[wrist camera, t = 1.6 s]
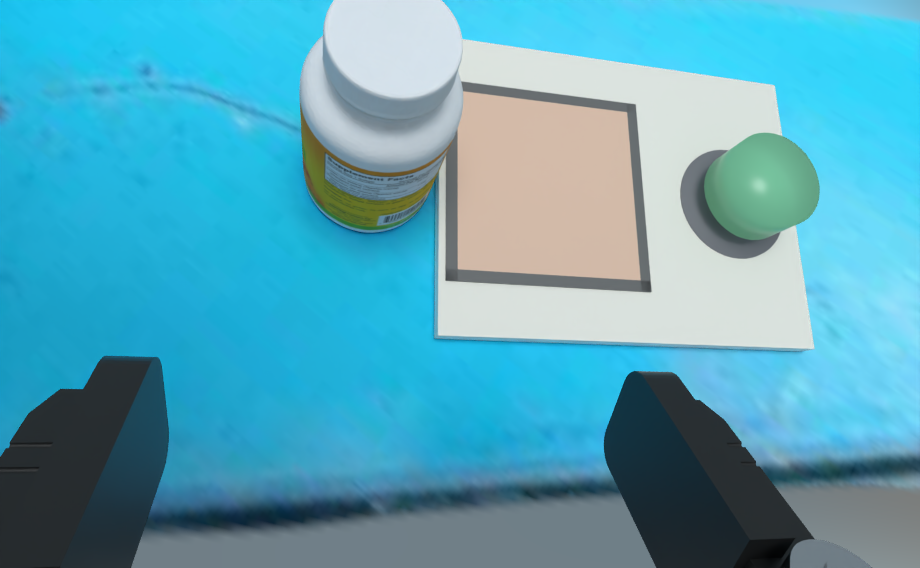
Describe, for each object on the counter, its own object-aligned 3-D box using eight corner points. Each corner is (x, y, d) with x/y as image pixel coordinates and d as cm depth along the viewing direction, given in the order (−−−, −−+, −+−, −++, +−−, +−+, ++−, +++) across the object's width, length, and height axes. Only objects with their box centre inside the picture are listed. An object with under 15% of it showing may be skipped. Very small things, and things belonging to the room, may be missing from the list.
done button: (709, 236, 27) (738, 221, 25) (699, 148, 28) (727, 127, 26) (792, 243, 28) (826, 229, 26) (779, 157, 29) (811, 137, 27)
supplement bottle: (327, 104, 26) (332, -74, 17) (442, 144, 27) (506, -5, 18) (286, 212, 25) (267, 79, 16) (409, 252, 26) (461, 148, 16)
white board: (434, 338, 25) (438, 334, 24) (436, 46, 28) (440, 34, 28) (801, 351, 29) (816, 348, 28) (763, 93, 32) (775, 84, 31)
